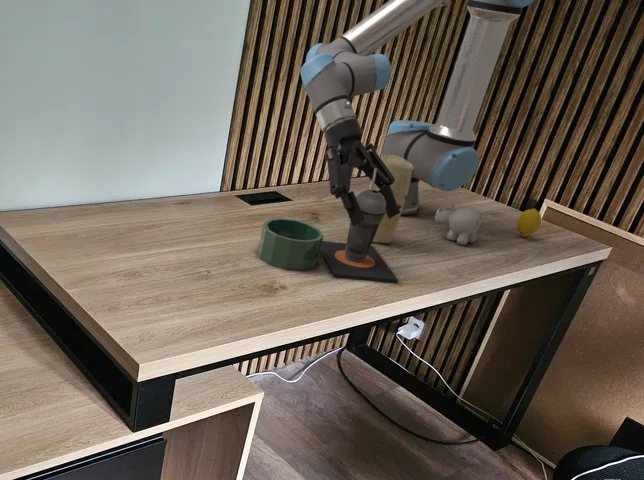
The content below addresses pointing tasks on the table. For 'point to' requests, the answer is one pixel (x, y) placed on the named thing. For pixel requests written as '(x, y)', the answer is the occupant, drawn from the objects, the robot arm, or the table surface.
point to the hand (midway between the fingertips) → (377, 219)
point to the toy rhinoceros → (460, 223)
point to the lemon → (528, 222)
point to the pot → (290, 244)
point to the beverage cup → (365, 224)
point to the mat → (355, 264)
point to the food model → (400, 187)
